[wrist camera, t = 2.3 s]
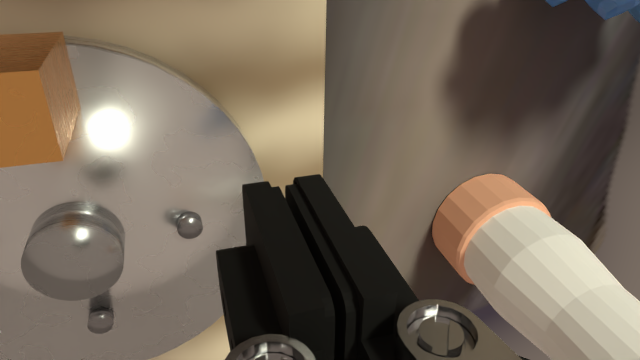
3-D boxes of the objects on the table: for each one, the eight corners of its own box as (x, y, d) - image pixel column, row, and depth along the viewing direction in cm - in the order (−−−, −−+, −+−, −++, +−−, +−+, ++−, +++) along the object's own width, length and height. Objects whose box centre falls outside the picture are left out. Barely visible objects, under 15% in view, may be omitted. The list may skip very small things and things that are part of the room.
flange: (-258, 37, 17) (-445, 102, 12) (254, 15, 22) (289, 53, 16) (-62, 385, 26) (-116, 512, 21) (269, 316, 31) (294, 405, 26)
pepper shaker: (436, 270, 37) (651, 549, 21) (426, 194, 33) (681, 467, 17) (520, 236, 38) (786, 479, 22) (520, 158, 34) (844, 386, 18)
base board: (-389, -67, 17) (-616, -51, 12) (314, -67, 23) (360, -57, 18) (-94, 404, 29) (-143, 508, 24) (311, 317, 36) (337, 385, 31)
